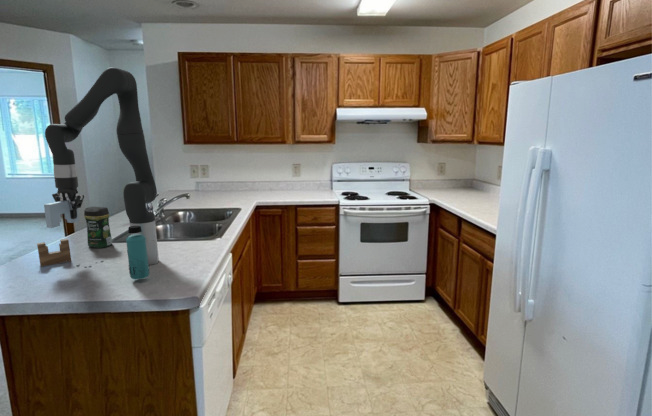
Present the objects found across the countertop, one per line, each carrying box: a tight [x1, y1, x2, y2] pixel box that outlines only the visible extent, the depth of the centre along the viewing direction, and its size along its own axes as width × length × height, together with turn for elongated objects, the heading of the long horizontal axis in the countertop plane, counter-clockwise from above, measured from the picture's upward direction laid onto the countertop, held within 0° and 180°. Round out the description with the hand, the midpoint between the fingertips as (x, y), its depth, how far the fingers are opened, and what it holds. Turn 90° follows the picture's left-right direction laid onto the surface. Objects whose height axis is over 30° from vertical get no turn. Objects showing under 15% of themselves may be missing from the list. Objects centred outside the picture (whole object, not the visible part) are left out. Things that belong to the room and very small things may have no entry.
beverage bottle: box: [125, 225, 150, 280], centre depth 132 cm, size 6×7×20 cm
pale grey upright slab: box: [43, 201, 80, 229], centre depth 147 cm, size 2×12×9 cm, turn 167°
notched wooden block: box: [36, 238, 72, 267], centre depth 150 cm, size 2×10×9 cm, turn 133°
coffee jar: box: [83, 206, 113, 249], centre depth 172 cm, size 10×8×19 cm
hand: (70, 218), depth 151 cm, fingers closed on pale grey upright slab, 2 cm apart
